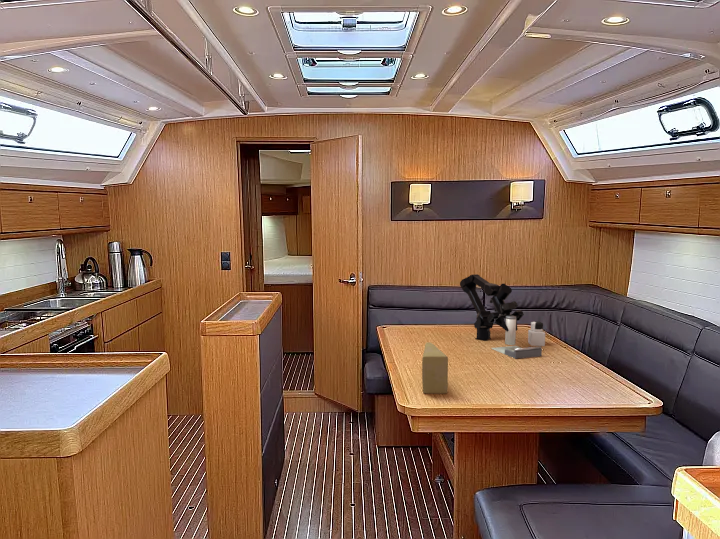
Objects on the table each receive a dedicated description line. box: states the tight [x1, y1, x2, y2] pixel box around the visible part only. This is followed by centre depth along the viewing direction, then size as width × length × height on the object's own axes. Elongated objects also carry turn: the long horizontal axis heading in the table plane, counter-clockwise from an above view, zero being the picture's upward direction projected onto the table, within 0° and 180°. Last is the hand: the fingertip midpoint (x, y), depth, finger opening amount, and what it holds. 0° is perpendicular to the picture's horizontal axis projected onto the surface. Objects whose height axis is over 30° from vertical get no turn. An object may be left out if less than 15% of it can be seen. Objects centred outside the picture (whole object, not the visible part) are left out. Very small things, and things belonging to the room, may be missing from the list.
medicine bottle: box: [527, 321, 546, 347], centre depth 259 cm, size 7×7×12 cm
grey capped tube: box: [504, 316, 517, 346], centre depth 247 cm, size 5×5×14 cm
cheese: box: [421, 341, 449, 395], centre depth 195 cm, size 22×10×15 cm, turn 179°
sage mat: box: [490, 345, 522, 355], centre depth 248 cm, size 11×15×1 cm
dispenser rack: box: [504, 346, 543, 360], centre depth 238 cm, size 8×15×5 cm, turn 109°
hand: (512, 330), depth 245 cm, fingers closed on grey capped tube, 5 cm apart
